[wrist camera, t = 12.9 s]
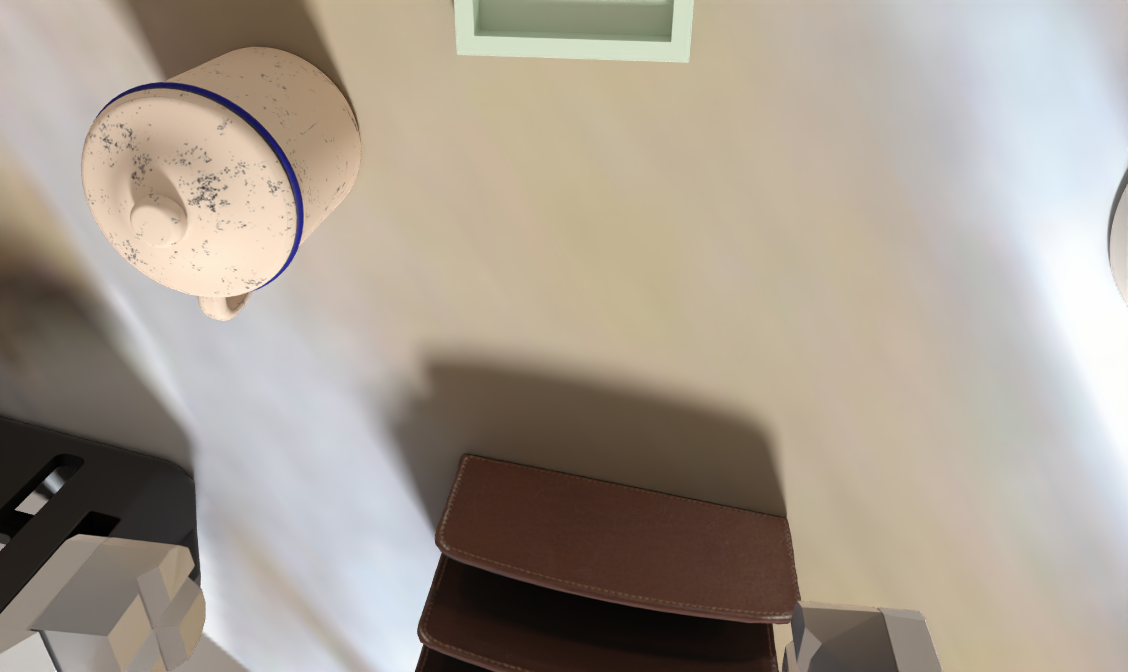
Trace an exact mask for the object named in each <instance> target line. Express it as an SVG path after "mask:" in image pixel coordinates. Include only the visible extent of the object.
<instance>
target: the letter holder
mask: <svg viewBox="0 0 1128 672" xmlns="http://www.w3.org/2000/svg"><path fill="white" fill-rule="evenodd" d="M435 544H436V546H437V547H438V548H439V550H440V551H441V552H442V554H441V556H440V560H439V563H438V566H437V569H436V572H435V575H434V578H433V581H432V585H431V588H430V591H429V594H428V597H427V600H426V603H425V606H424V609H423V612H422V615H421V618H420V621H419V624H418V628H417V634H418V637H419V639H420V642H421V643H423V647H422V650H421V654H420V657H419V660H418V664H417V667H416V670H415V672H779V670H778V663H777V656H776V649H775V643H774V632H773V624H772V623H775V624H788V623H790V622H791V618H792V613H793V609H794V606H795V604H796V602H797V601H801V597H800V593H799V587H798V582H797V575H796V569H795V562H794V553H793V551H794V550H793V547H792V539H791V532H790V528H789V524H788V520H787V519H786V518H783V517H776V516H771V515H766V514H763V513H755V512H751V511H747V510H740V509H739V508H733V507H728V506H722V505H717V504H712V503H708V502H702V501H698V500H693V499H688V498H683V497H678V496H673V495H669V494H663V493H659V492H656V491H649V490H645V489H639V488H636V487H630V486H624V485H619V484H615V483H610V482H605V481H601V480H594V479H589V478H585V477H581V476H574V475H570V474H566V473H561V472H554V471H549V470H546V469H539V468H535V467H530V466H526V465H520V464H514V463H509V462H504V461H499V460H494V459H490V458H485V457H479V456H473V455H468V454H463V456H462V457H461V459H460V461H459V465H458V470H457V473H456V476H455V479H454V482H453V485H452V487H451V490H450V493H449V496H448V499H447V502H446V505H445V508H444V511H443V513H442V517H441V519H440V522H439V525H438V528H437V531H436V534H435Z"/></svg>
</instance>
